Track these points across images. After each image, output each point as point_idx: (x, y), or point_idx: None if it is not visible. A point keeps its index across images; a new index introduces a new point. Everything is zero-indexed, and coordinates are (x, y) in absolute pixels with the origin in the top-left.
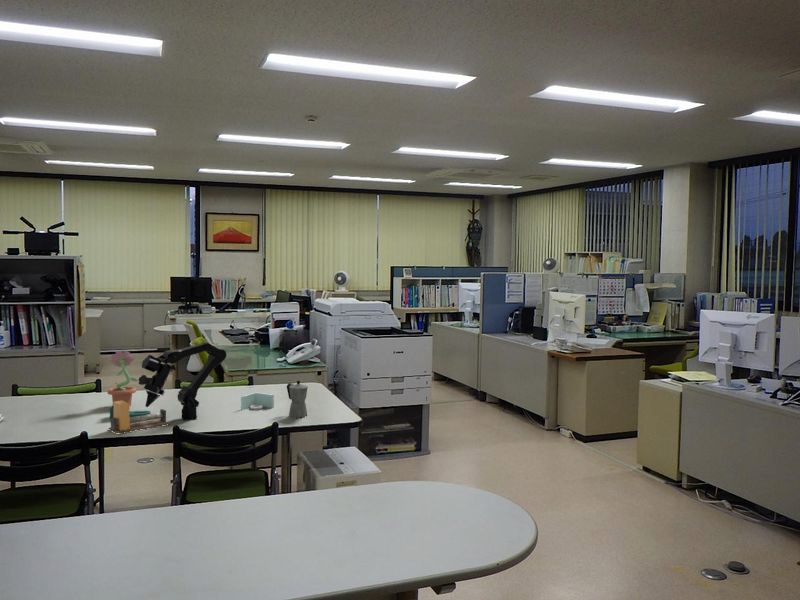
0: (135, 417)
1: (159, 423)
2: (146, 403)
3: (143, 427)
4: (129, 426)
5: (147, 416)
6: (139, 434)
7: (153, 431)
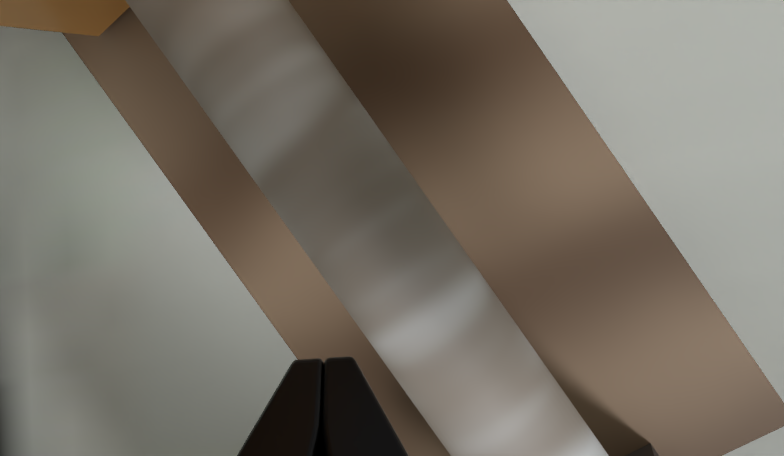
0: (201, 87)
1: (440, 446)
2: (254, 439)
3: (217, 233)
4: (66, 31)
5: (351, 312)
6: (14, 217)
7: (147, 378)
